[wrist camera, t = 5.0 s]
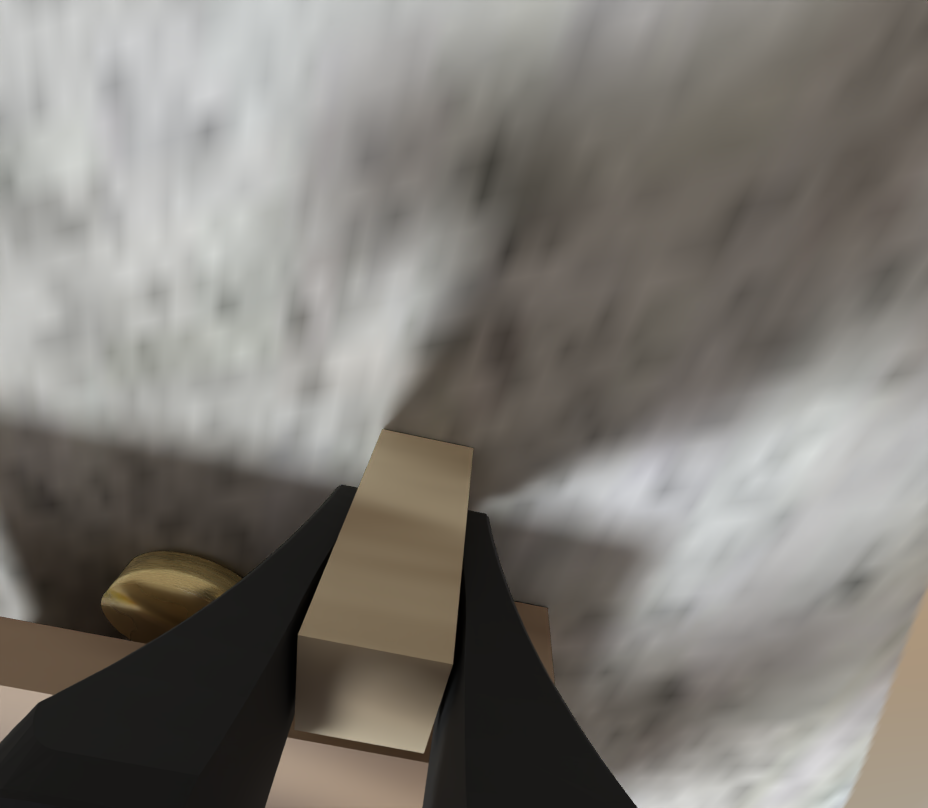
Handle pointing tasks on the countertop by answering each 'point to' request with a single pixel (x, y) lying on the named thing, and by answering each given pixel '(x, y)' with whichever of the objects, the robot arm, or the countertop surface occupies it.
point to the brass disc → (163, 592)
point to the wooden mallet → (388, 599)
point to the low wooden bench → (305, 754)
